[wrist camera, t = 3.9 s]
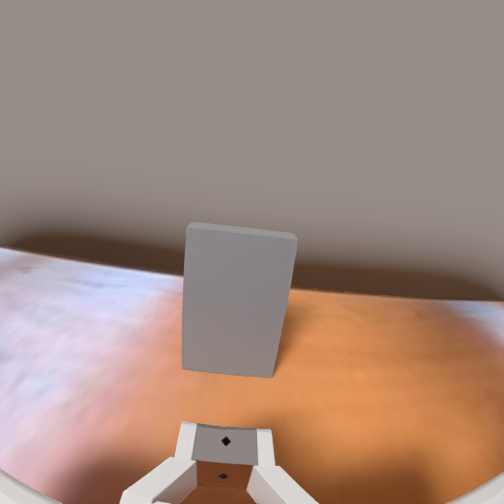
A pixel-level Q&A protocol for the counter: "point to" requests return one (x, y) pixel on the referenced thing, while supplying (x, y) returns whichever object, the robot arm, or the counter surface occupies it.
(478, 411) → the counter surface
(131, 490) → the robot arm
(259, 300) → the grey upright panel
